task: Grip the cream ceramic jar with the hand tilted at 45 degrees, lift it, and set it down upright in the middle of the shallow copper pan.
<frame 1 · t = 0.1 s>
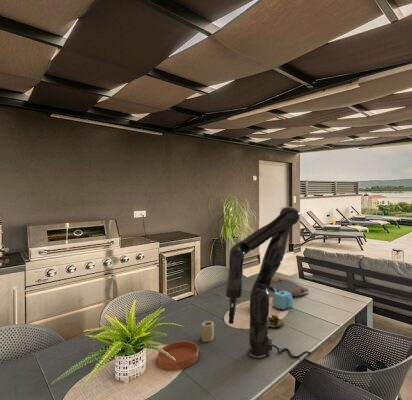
hand: (231, 319, 134), 17 cm above the table, tool pointing down, fingers open, 8 cm apart
pan: (178, 358, 131), on the table
burger: (273, 325, 166), on the table
teapot: (281, 306, 194), on the table
jar: (207, 339, 148), on the table
serving tray: (286, 290, 228), on the table
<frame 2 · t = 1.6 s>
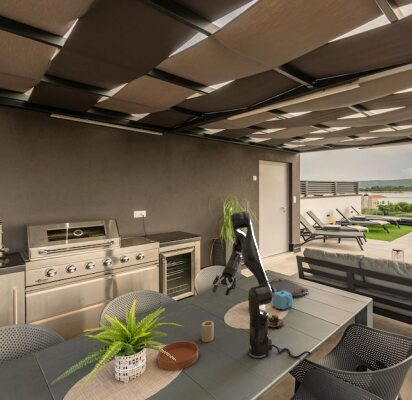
hand: (219, 293, 159), 21 cm above the table, tool tilted 45°, fingers open, 8 cm apart
nothing on the table moved.
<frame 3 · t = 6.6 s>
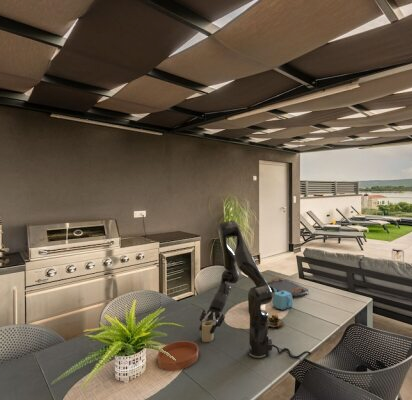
hand: (205, 331, 147), 5 cm above the table, tool tilted 45°, fingers closed on jar, 6 cm apart
jar: (207, 339, 148), on the table, touching gripper
everything else where it was.
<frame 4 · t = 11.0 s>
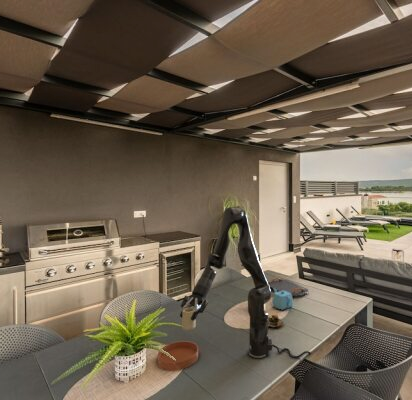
hand: (186, 318, 135), 17 cm above the table, tool tilted 45°, fingers closed on jar, 6 cm apart
jar: (189, 326, 136), point 12 cm above the table, touching gripper
everything else where it was.
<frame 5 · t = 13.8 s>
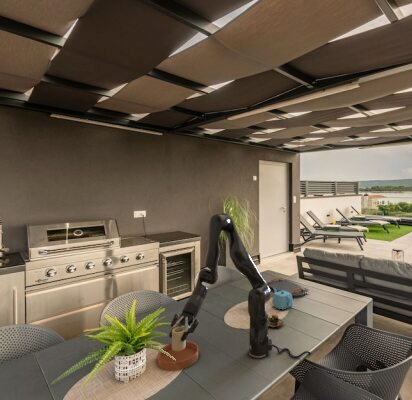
hand: (176, 339, 129), 10 cm above the table, tool tilted 45°, fingers closed on jar, 6 cm apart
jar: (178, 347, 131), point 5 cm above the table, touching gripper
everything else where it was.
when the fingers open (5 cm above the table, at t = 15.7 s): jar stays where it is, resting on pan.
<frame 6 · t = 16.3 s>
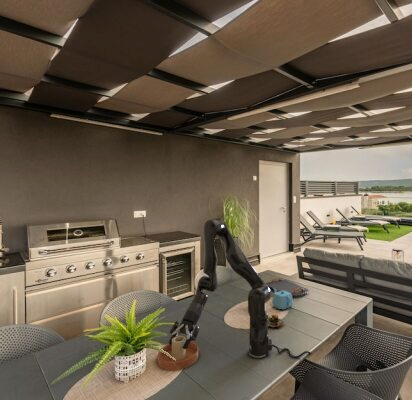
hand: (176, 346, 129), 6 cm above the table, tool tilted 45°, fingers open, 8 cm apart
jar: (178, 356, 131), point 1 cm above the table, touching pan
everything else where it was.
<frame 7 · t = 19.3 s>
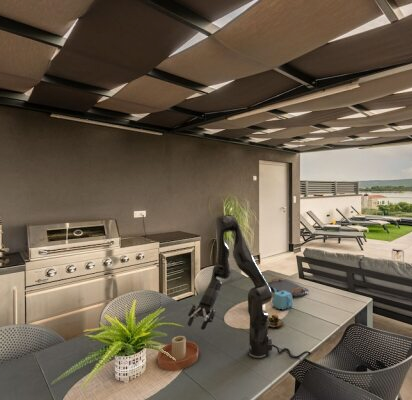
hand: (195, 327, 141), 10 cm above the table, tool tilted 45°, fingers open, 8 cm apart
nothing on the table moved.
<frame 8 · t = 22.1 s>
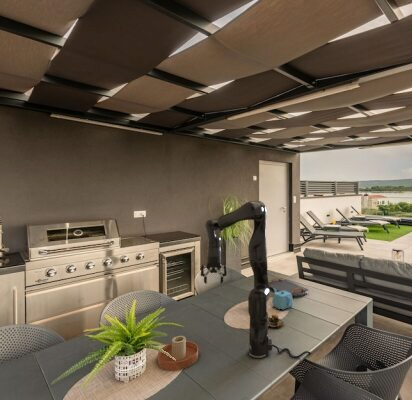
hand: (213, 283, 155), 28 cm above the table, tool pointing down, fingers open, 8 cm apart
nothing on the table moved.
at the end: jar inside the target area in the pan (0.1 cm from its centre), point 0.6 cm above the pan's base; jar tilted 0°; the gripper is holding nothing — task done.
